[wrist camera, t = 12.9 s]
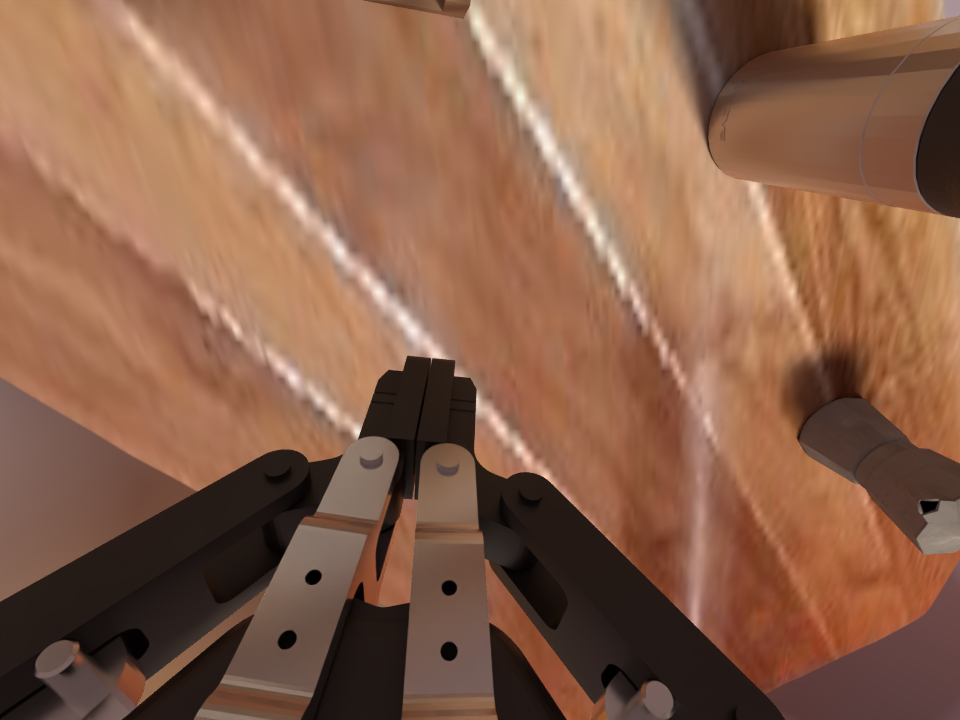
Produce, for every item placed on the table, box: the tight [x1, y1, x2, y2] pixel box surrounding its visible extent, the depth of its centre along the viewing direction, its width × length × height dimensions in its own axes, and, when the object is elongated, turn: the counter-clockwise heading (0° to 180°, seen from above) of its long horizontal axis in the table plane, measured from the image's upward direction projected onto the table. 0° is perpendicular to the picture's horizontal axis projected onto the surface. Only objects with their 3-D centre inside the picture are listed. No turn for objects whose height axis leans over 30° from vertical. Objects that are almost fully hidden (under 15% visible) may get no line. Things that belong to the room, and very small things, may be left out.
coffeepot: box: [799, 398, 960, 555], centre depth 47 cm, size 15×9×18 cm, turn 63°
